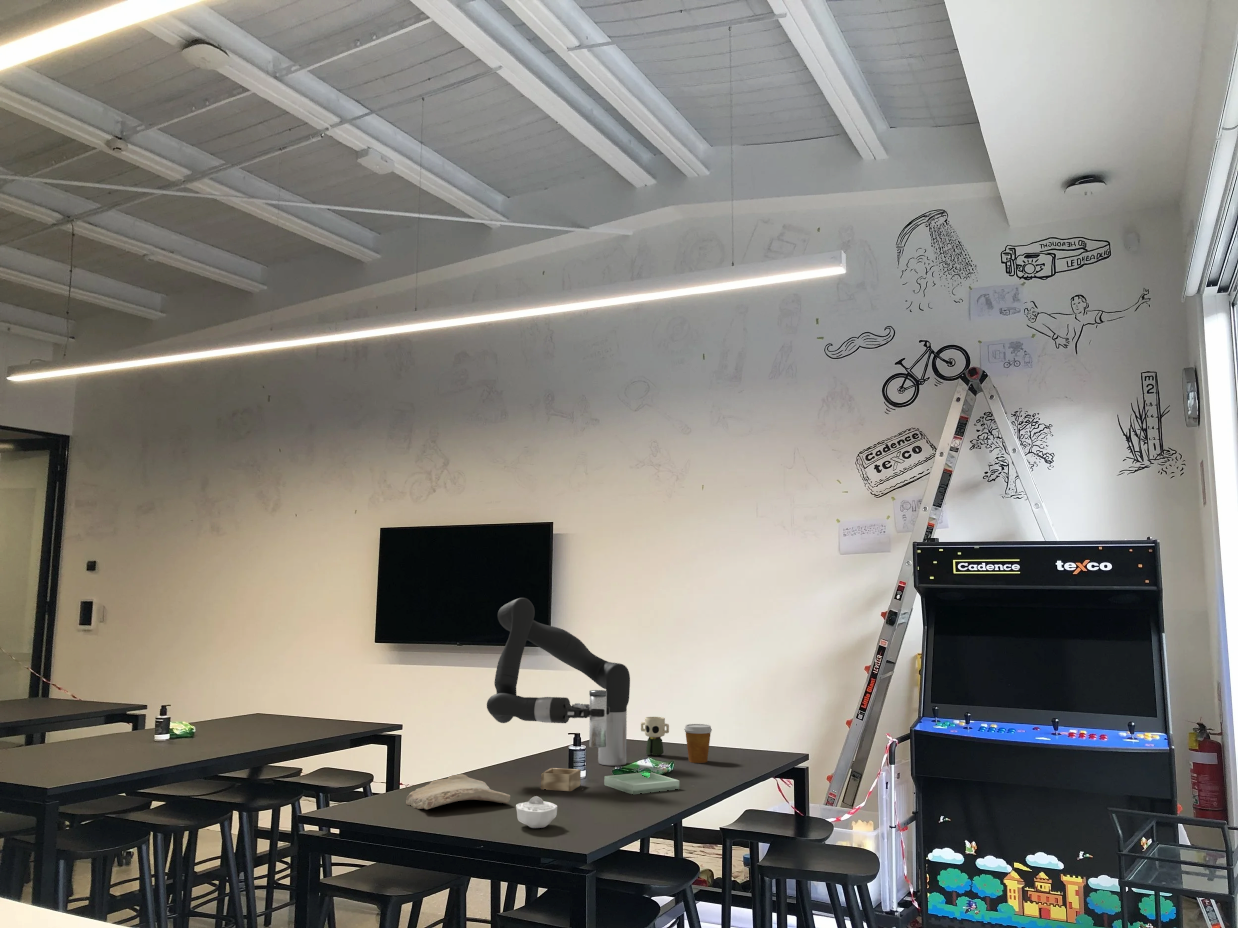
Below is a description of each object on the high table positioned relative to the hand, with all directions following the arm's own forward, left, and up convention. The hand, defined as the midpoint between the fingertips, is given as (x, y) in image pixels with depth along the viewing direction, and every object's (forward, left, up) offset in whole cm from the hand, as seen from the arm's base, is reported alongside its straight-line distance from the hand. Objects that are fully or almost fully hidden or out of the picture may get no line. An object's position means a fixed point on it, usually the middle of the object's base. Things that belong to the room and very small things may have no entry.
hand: (606, 711), depth 288 cm
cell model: (+34, -39, -22) cm, 57 cm away
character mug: (-43, +45, -22) cm, 66 cm away
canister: (-2, -2, -10) cm, 10 cm away
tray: (+4, +10, -22) cm, 24 cm away
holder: (-7, -11, -22) cm, 25 cm away
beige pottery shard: (0, -47, -22) cm, 52 cm away
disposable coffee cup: (-25, +51, -22) cm, 60 cm away
